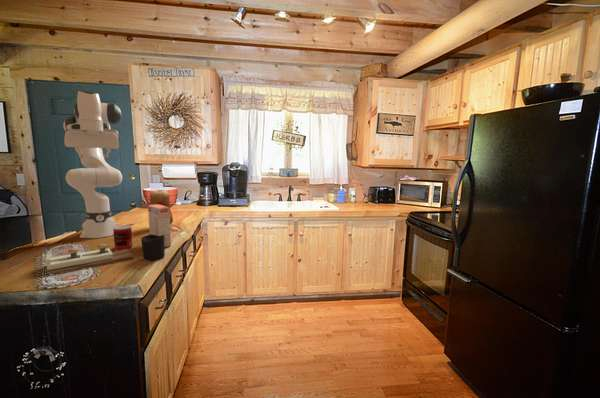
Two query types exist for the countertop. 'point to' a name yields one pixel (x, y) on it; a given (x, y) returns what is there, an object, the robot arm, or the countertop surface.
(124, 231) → the canned food
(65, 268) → the board
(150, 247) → the pen holder
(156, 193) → the butternut squash
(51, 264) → the panel
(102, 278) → the countertop surface
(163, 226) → the cracker box
